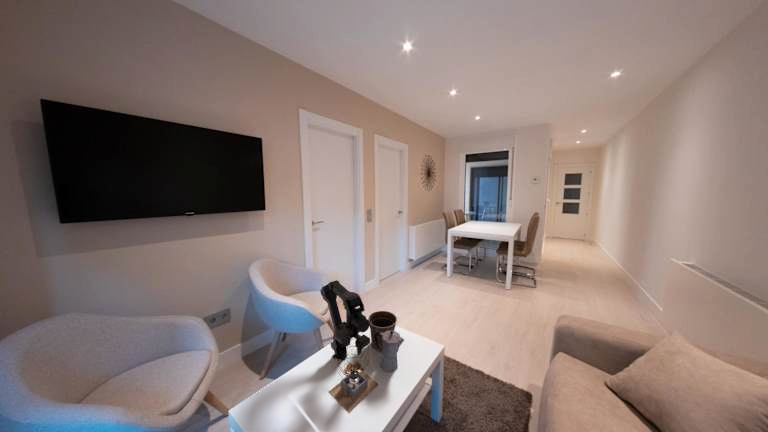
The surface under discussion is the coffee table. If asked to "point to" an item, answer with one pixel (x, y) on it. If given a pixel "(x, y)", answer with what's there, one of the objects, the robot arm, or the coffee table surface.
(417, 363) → the coffee table surface
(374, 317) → the plant pot
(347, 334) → the robot arm
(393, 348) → the moka pot
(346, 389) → the press
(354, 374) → the plunger
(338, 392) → the board
